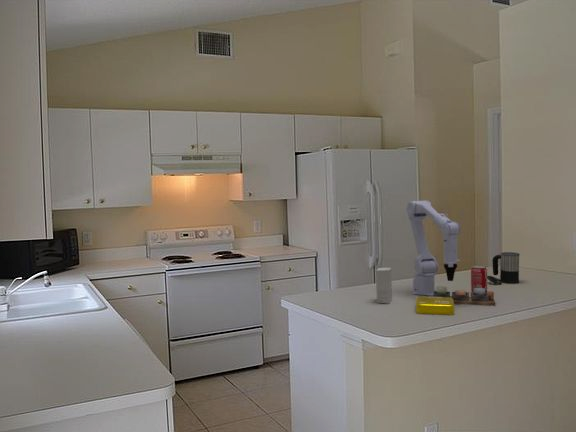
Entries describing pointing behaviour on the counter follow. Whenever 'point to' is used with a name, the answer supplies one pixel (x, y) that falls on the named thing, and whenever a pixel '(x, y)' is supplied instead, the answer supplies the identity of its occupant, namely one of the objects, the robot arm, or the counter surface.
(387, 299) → the skincare box
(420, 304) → the element tile
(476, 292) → the slate button
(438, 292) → the sage button
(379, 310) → the counter surface
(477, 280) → the soda can
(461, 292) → the terracotta button
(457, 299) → the panel
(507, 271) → the milk frother
